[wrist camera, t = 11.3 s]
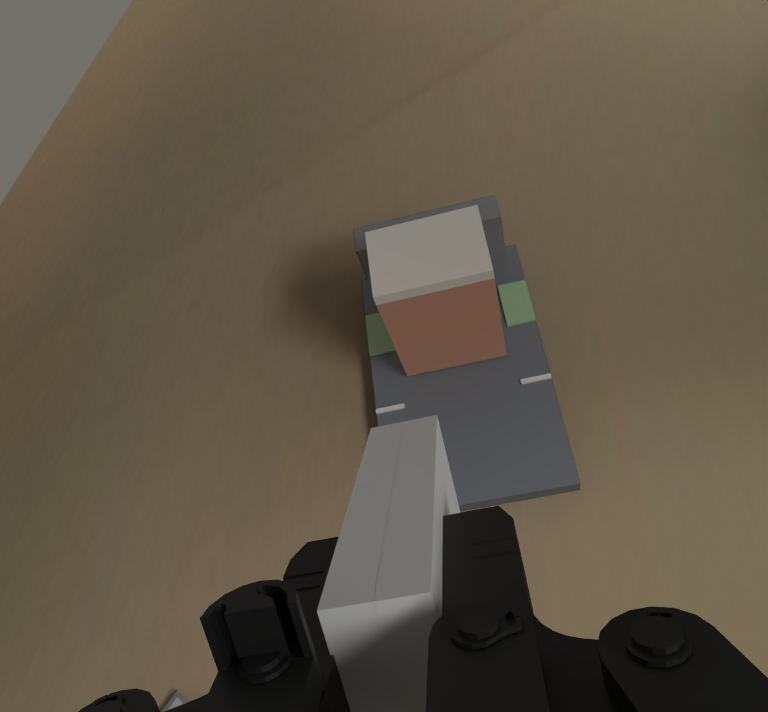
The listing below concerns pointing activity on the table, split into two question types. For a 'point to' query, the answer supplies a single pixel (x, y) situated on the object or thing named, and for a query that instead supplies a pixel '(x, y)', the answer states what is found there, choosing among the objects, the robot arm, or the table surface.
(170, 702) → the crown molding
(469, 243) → the orange box with lid
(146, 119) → the table surface
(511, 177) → the table surface
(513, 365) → the base
